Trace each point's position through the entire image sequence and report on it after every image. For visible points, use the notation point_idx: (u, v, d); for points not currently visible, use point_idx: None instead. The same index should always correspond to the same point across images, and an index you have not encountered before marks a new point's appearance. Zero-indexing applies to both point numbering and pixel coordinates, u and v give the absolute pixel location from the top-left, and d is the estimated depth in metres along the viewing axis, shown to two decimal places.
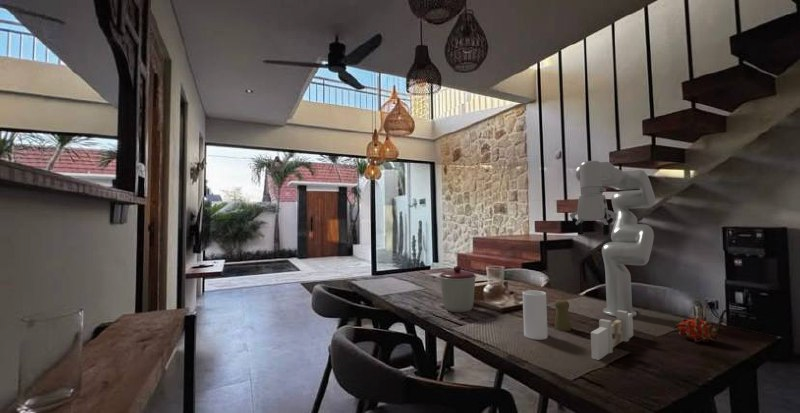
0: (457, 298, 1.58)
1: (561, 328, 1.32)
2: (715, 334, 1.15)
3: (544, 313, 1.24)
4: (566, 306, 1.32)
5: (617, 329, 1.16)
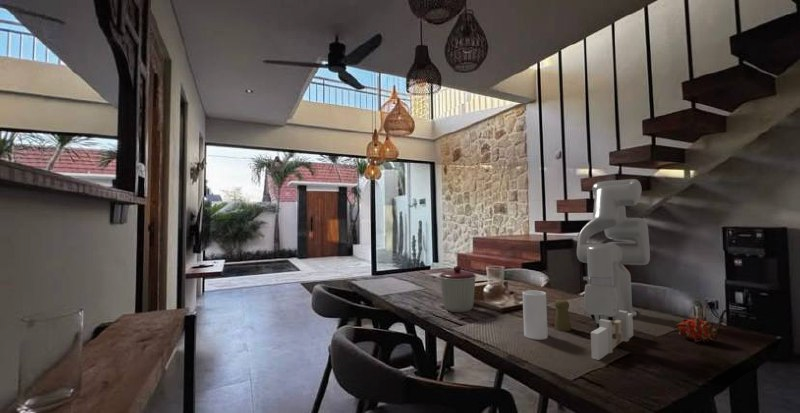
0: (457, 298, 1.58)
1: (561, 328, 1.32)
2: (715, 334, 1.15)
3: (544, 313, 1.24)
4: (566, 306, 1.32)
5: (618, 329, 1.16)
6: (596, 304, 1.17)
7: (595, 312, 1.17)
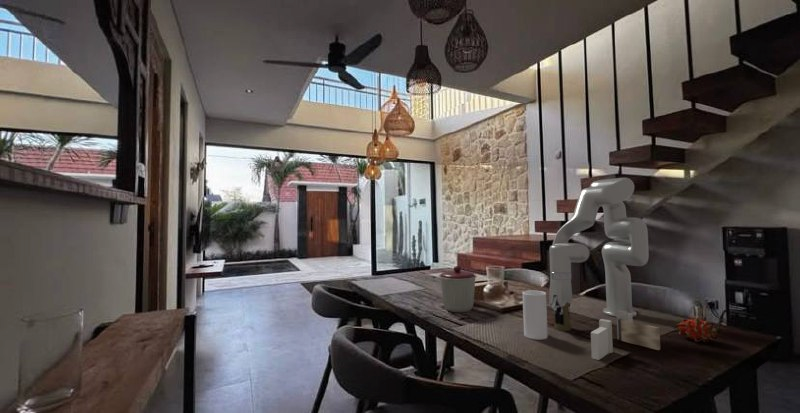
0: (457, 298, 1.58)
1: (561, 328, 1.32)
2: (715, 334, 1.15)
3: (544, 313, 1.24)
4: (566, 306, 1.32)
5: None
6: None
7: None
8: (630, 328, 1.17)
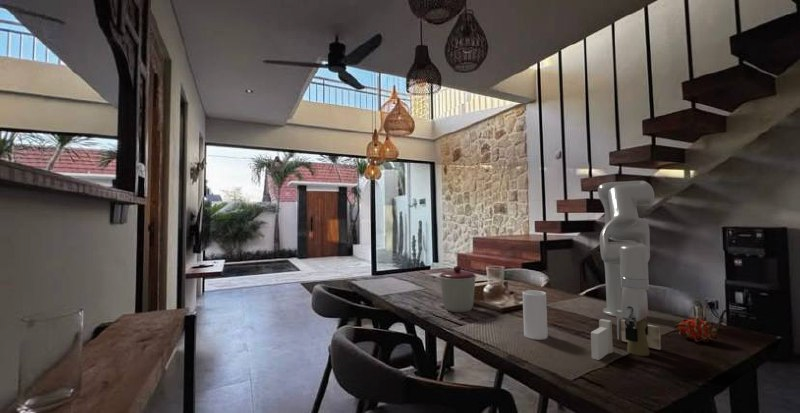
0: (457, 298, 1.58)
1: (638, 352, 1.08)
2: (715, 334, 1.15)
3: (544, 313, 1.24)
4: (644, 325, 1.08)
5: None
6: None
7: None
8: None
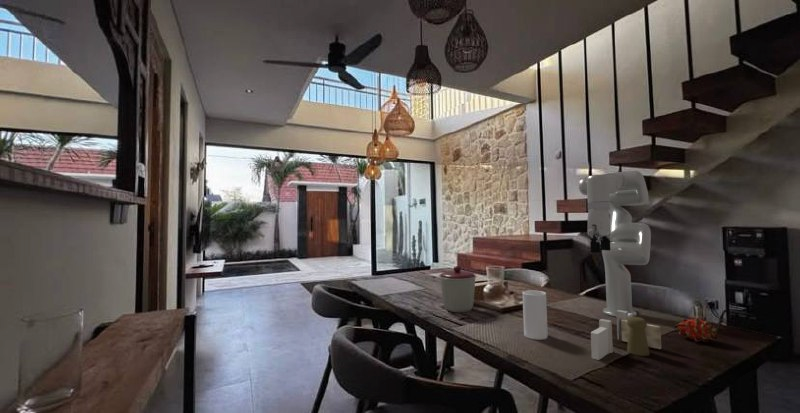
0: (457, 298, 1.58)
1: (638, 352, 1.08)
2: (715, 334, 1.15)
3: (544, 313, 1.24)
4: (644, 325, 1.08)
5: None
6: None
7: None
8: None
